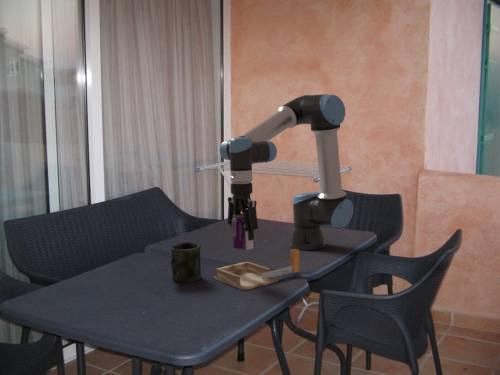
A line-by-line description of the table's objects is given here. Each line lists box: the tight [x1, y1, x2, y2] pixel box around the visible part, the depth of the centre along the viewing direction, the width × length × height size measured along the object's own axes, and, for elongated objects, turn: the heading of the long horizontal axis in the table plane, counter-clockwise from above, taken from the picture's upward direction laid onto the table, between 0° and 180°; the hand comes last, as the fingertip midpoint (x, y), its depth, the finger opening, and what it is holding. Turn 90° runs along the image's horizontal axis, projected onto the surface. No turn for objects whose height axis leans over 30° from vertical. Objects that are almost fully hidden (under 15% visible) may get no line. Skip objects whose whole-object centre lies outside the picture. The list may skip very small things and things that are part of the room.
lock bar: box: [262, 248, 300, 280], centre depth 213 cm, size 16×2×8 cm, turn 127°
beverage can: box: [231, 212, 247, 251], centre depth 211 cm, size 7×7×12 cm
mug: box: [169, 241, 202, 283], centre depth 214 cm, size 11×15×12 cm
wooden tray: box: [213, 260, 279, 291], centre depth 212 cm, size 15×18×4 cm
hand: (242, 246), depth 212 cm, fingers closed on beverage can, 7 cm apart
